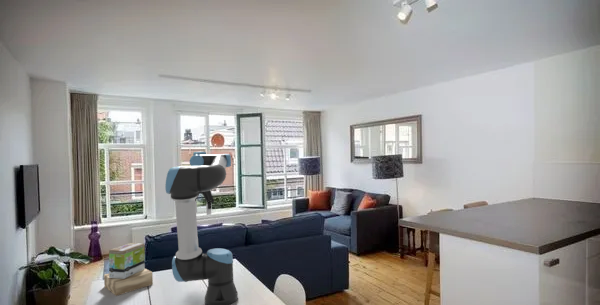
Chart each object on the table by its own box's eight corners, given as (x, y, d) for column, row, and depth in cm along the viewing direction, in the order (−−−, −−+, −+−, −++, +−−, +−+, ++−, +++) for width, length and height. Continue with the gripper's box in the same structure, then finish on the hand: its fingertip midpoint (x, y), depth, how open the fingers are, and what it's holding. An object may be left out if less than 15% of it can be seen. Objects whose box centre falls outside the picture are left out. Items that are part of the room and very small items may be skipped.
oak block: (152, 285, 173) (152, 272, 173) (116, 296, 160) (116, 282, 160) (139, 277, 185) (138, 265, 185) (104, 287, 172) (104, 274, 172)
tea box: (124, 279, 164) (124, 250, 164) (108, 278, 166) (107, 249, 166) (145, 269, 178) (144, 242, 178) (130, 268, 181) (129, 242, 181)
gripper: (219, 177, 184) (220, 214, 184) (193, 177, 199) (194, 211, 199) (208, 178, 178) (209, 216, 178) (182, 178, 193) (183, 213, 193)
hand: (201, 213), depth 188 cm, fingers open, 13 cm apart
